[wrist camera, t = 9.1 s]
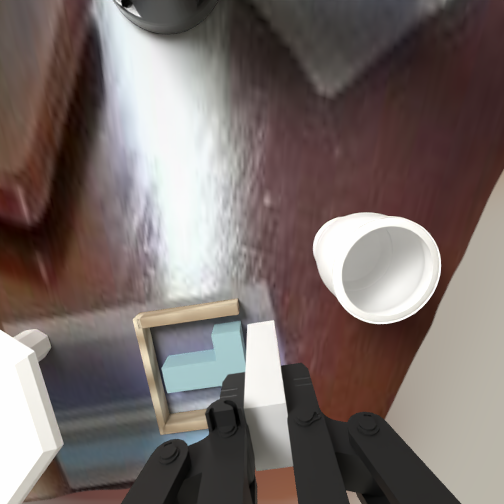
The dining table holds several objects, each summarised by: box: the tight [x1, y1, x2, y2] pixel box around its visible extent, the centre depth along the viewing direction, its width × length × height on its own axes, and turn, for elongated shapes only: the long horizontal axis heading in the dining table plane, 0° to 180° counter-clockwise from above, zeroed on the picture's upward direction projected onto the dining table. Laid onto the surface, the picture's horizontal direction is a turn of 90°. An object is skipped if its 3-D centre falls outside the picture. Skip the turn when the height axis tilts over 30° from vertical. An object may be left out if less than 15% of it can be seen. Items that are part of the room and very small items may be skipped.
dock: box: [133, 299, 239, 435], centre depth 45 cm, size 19×15×2 cm
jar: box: [313, 212, 441, 324], centre depth 36 cm, size 11×10×15 cm
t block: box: [161, 321, 246, 393], centre depth 45 cm, size 12×12×4 cm
